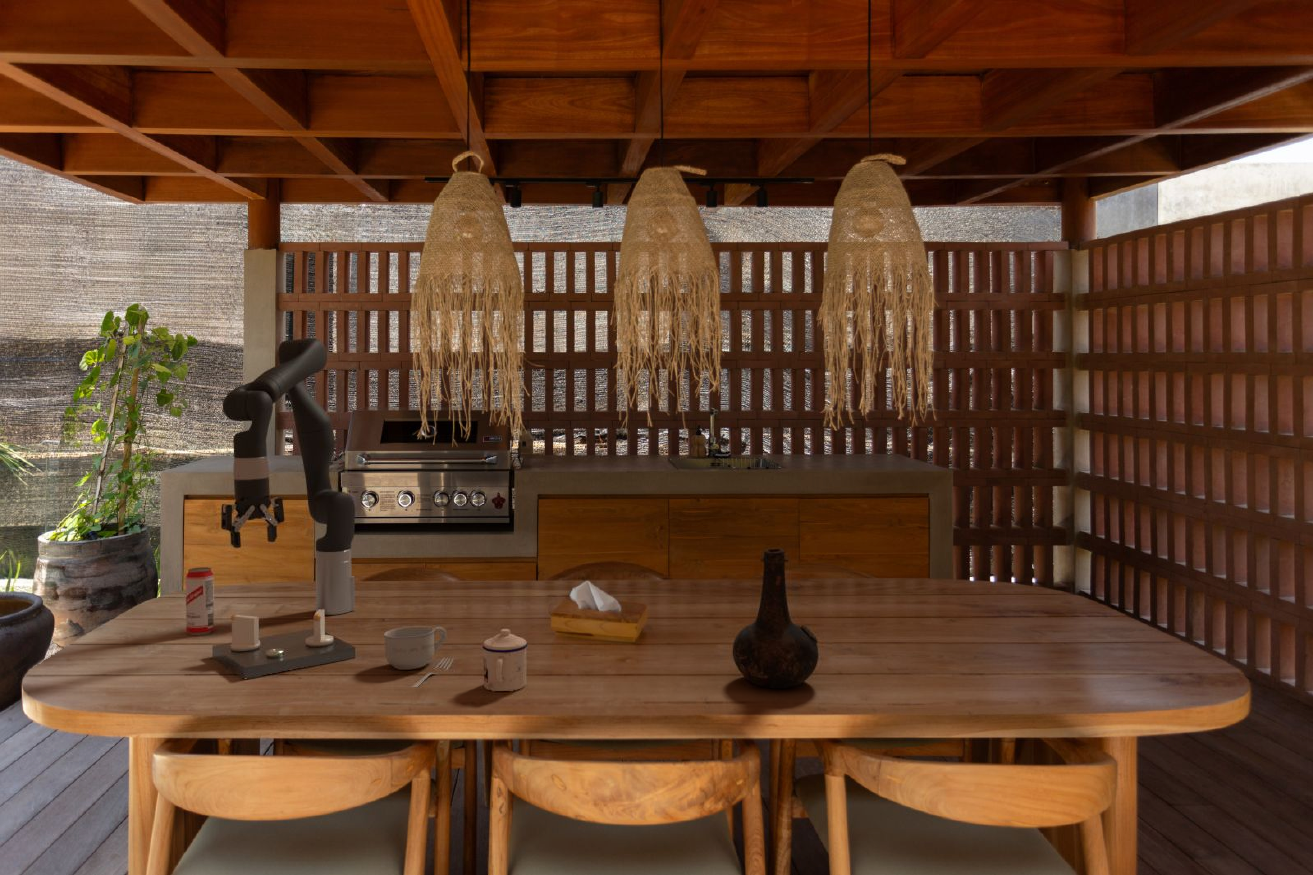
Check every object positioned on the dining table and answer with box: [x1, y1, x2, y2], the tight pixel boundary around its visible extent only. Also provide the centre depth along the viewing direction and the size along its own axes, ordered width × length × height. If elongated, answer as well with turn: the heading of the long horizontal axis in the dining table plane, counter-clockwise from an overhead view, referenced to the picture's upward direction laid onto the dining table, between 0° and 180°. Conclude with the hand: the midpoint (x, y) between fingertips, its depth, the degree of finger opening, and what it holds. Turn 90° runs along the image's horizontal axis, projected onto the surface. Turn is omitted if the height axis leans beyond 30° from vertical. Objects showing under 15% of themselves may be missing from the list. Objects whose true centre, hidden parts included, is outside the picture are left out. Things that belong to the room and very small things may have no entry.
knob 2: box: [305, 609, 334, 646], centre depth 205 cm, size 7×6×7 cm
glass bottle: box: [732, 548, 819, 689], centre depth 187 cm, size 18×18×28 cm
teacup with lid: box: [482, 628, 528, 692], centre depth 182 cm, size 12×9×12 cm
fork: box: [411, 657, 455, 688], centre depth 187 cm, size 3×24×2 cm, turn 169°
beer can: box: [185, 566, 216, 636], centre depth 223 cm, size 6×6×16 cm
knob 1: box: [230, 614, 260, 651], centre depth 201 cm, size 7×6×7 cm
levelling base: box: [211, 628, 356, 680], centre depth 203 cm, size 24×22×4 cm
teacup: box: [383, 625, 448, 670], centre depth 198 cm, size 14×11×8 cm
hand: (254, 544), depth 210 cm, fingers open, 8 cm apart
